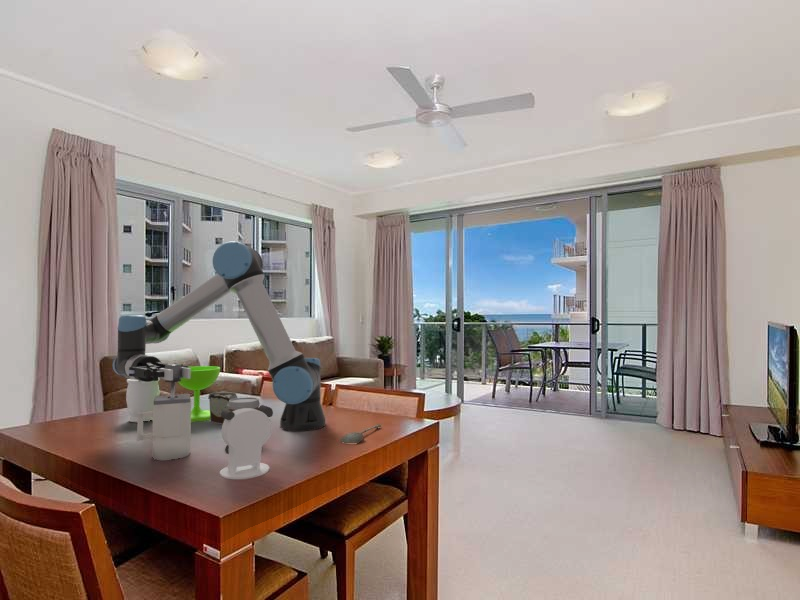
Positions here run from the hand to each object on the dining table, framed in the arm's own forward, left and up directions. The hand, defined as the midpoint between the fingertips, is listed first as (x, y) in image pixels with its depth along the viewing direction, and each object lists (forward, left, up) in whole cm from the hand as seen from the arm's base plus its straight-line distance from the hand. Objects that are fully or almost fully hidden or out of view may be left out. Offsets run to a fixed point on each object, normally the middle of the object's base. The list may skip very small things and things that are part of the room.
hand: (180, 374), depth 123 cm
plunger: (+4, -2, -15) cm, 16 cm away
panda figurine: (-22, +6, -22) cm, 32 cm away
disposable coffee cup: (-7, -20, -22) cm, 31 cm away
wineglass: (+26, -46, -22) cm, 57 cm away
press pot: (+5, -1, -22) cm, 23 cm away
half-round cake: (+11, -41, -22) cm, 48 cm away
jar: (+42, -38, -22) cm, 61 cm away
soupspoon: (-42, -31, -23) cm, 57 cm away
